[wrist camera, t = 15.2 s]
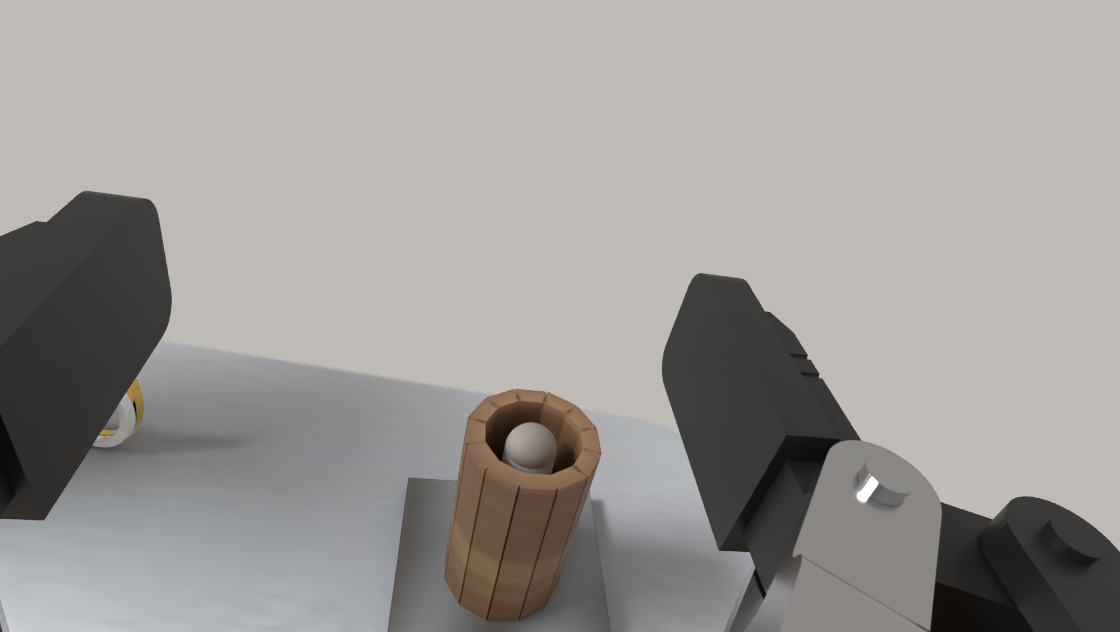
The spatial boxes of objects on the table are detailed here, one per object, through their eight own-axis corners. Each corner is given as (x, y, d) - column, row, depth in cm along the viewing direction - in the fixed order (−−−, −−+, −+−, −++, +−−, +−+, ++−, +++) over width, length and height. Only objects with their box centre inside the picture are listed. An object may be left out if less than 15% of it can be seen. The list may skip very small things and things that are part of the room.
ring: (165, 443, 38) (142, 335, 33) (120, 482, 35) (88, 371, 31) (64, 404, 39) (29, 294, 34) (12, 439, 36) (-34, 325, 31)
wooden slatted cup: (441, 619, 31) (465, 484, 26) (448, 517, 36) (469, 384, 31) (561, 622, 32) (608, 493, 27) (552, 522, 37) (590, 395, 32)
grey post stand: (381, 679, 30) (394, 528, 23) (407, 488, 38) (421, 342, 32) (611, 682, 32) (680, 542, 25) (585, 499, 40) (631, 363, 34)
